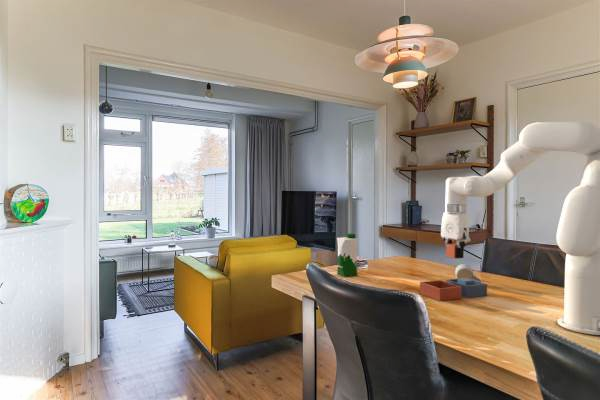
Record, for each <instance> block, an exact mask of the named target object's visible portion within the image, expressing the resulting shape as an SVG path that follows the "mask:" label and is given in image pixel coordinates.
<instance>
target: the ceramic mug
mask: <svg viewBox="0 0 600 400" xmlns="http://www.w3.org/2000/svg"><path fill="white" fill-rule="evenodd" d="M454 273H455V279H459V278H468V279H472V280H474V281H477V282H481V283H482V280H481V278H479V277H477V276H476V275H474V270H473V268H472V267H471V266H470V265H469V264H466V263H461V264H458V265H457V266H456V268H455V271H454Z"/></svg>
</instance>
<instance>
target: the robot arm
mask: <svg viewBox="0 0 600 400" xmlns="http://www.w3.org/2000/svg"><path fill="white" fill-rule="evenodd" d="M550 152H571V153H577V154H581V155H584V156H585V157H586V163H585V165H584V168H583V172H582V176H581V181H580V184H579V185H578V186H576V187H574V188H572V189H571V190H570V191H569V192H568V193H567V195H566V197H565V199H564V201H563V205H562V208H561V209H562V210H561V213H560V217H559V221H558V224H557V230H556V234H555V235H556V236H555V241H556V245H557V246H558V248H559V249H560V251H562V252H563V253H564V254H565V260H564V261H565V262H564V293H563V295H564V297H563V298H564V299H563V301H564V302H563V317H559V318H557V324H558V325H559V327H562V328H564V329H567V330H569V331H572V332H576V333H581V334H585V335H592V336H600V127H599V126H598V125H595V124H592V123H590V122H586V121H545V122H544V121H543V122H542V121H541V122H538V121H537V122H533V123H530V124H528V125H526V126H524V127H523V129H521V130H520V132H519V136H518V140H517V141H516V142H515V143H513V144H512V145H511V146H509V147H508V148H506V149H504V151H503V152H501V154H500V159H499V160H500V161H499V163H498V164H497V165H496V166H495V167H494V168H493V169H491V170H490V171H489V172H488V173H486V174H484V175H483V176H481V175H469V176H450V177H447V178H446V179H445V197H444V198H445V200H444V201H445V203H444V212H443V214H442V219H441V226H440V237H441V239H442V241H443V242H444V246H446V244H453V243H454V240H455V241H456V244H457V247H458V248H456V258H455V259H464V251H465V250H464V248H466V246H467V245H468V244H469V243H471V242H472V241H471V238H470V235H469V234H470V233H469V232H470V229H469V227H470V226H469V217H468V216H469V215H468V213H467V209H468V208H467V207H468V204H467V203H468V197H472V198H473V197H476V198H477V197H483V198H484V197H489V196H491V195H493V194H495V193H496V192H498V191H499V190H501V189H503V188H504V187H505V186H507V185H508V184H509V183H510V182H512V180H513V179H515V178H516V177H517V175H518V174H519V173H520V172H522V171H523V170H525V169H526V168H527V167H529V166H530V165H532V164H533V163H535V162H536V161H538V160H539V159H541V158H542V157H544V156H546V155H547V154H548V153H550Z"/></svg>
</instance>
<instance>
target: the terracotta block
mask: <svg viewBox="0 0 600 400" xmlns="http://www.w3.org/2000/svg"><path fill="white" fill-rule="evenodd" d="M456 248H458V247H457V242H456V243H455V242H453V244H446V245H445V257H447V258H450V259H457V258H456Z"/></svg>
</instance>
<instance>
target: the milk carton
mask: <svg viewBox="0 0 600 400" xmlns="http://www.w3.org/2000/svg"><path fill="white" fill-rule="evenodd" d="M336 241H337V242H336V243H337V270H336V273H337V275H340V276H341V277H343V278H346V277H357V276H358V263H357V262H358V245H359V238H357V237H356V233H347V234H346V236H345V237H343V236H341V237H336Z"/></svg>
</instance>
